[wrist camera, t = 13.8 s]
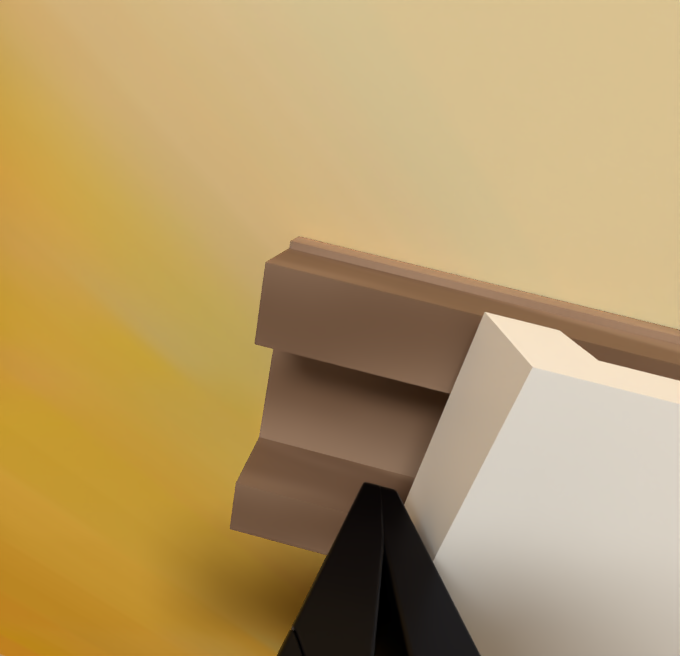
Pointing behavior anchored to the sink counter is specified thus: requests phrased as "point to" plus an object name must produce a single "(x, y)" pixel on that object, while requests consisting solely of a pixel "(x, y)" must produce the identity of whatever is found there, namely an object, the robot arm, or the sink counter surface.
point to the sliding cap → (555, 499)
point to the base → (381, 377)
